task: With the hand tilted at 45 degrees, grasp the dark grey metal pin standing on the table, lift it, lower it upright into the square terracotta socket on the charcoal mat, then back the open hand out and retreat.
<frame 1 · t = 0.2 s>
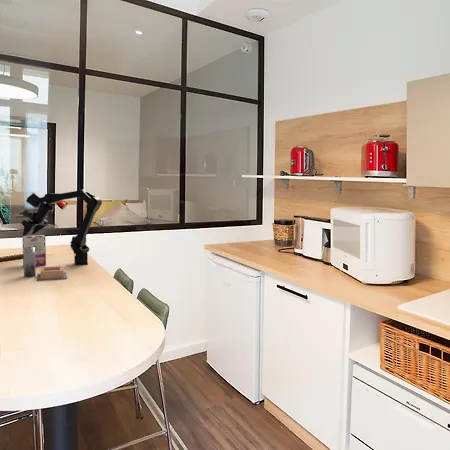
hand: (28, 235, 225), 15 cm above the table, tool tilted 35°, fingers open, 9 cm apart
metal pin: (29, 275, 193), on the table
candy bar box: (34, 265, 215), on the table
terracotta socket: (52, 276, 193), on the table
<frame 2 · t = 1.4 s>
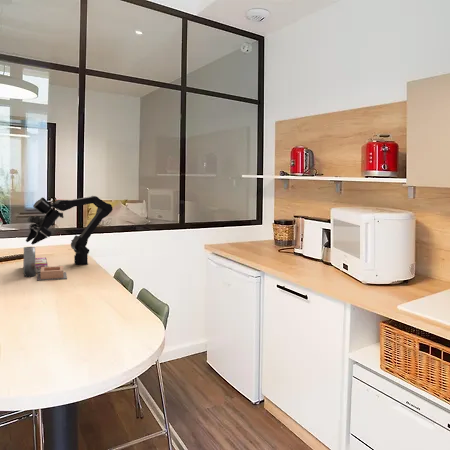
hand: (29, 242, 204), 14 cm above the table, tool tilted 40°, fingers open, 9 cm apart
candy bar box: (34, 261, 213), point 3 cm above the table
everything else where it was.
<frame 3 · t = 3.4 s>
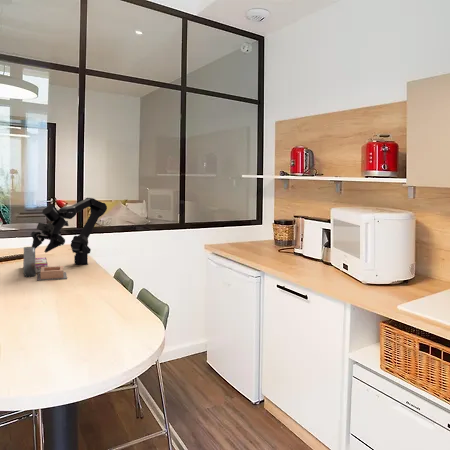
hand: (38, 251, 196), 12 cm above the table, tool tilted 45°, fingers open, 9 cm apart
nothing on the table moved.
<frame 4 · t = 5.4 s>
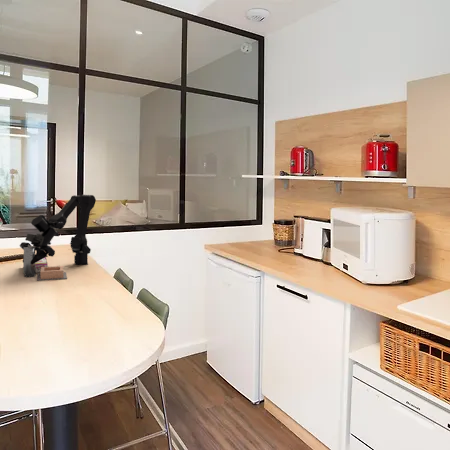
hand: (27, 263, 191), 7 cm above the table, tool tilted 45°, fingers closed on metal pin, 5 cm apart
metal pin: (29, 275, 193), on the table, touching gripper
everything else where it was.
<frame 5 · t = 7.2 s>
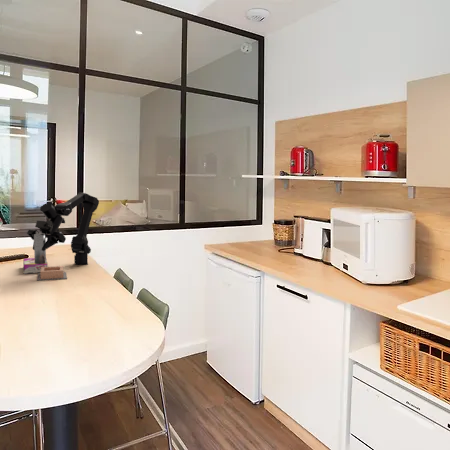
hand: (38, 249, 190), 13 cm above the table, tool tilted 45°, fingers closed on metal pin, 5 cm apart
metal pin: (40, 262, 192), point 7 cm above the table, touching gripper
everything else where it was.
when the fingers open (8 cm above the table, at t = 9.3 s): metal pin stays where it is, resting on terracotta socket.
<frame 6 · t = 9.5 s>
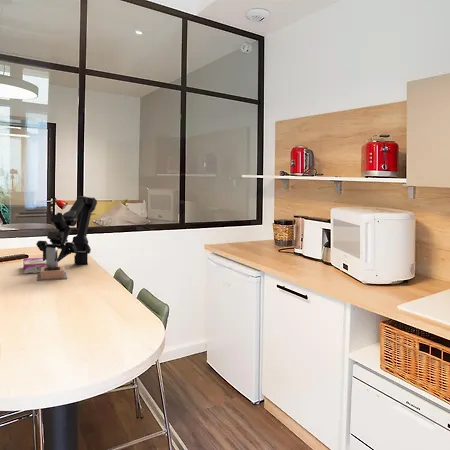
hand: (50, 261, 191), 8 cm above the table, tool tilted 45°, fingers open, 7 cm apart
metal pin: (52, 275, 193), resting on terracotta socket
everything else where it was.
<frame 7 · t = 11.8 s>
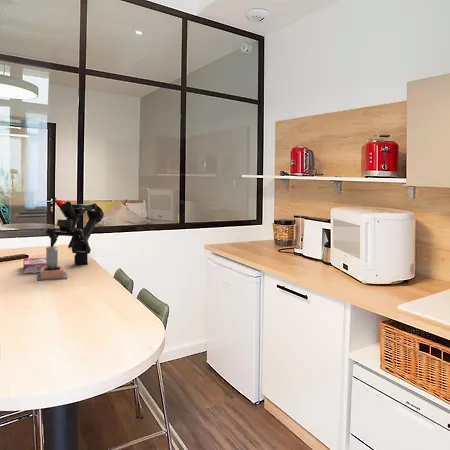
hand: (59, 247, 199), 13 cm above the table, tool tilted 45°, fingers open, 9 cm apart
nothing on the table moved.
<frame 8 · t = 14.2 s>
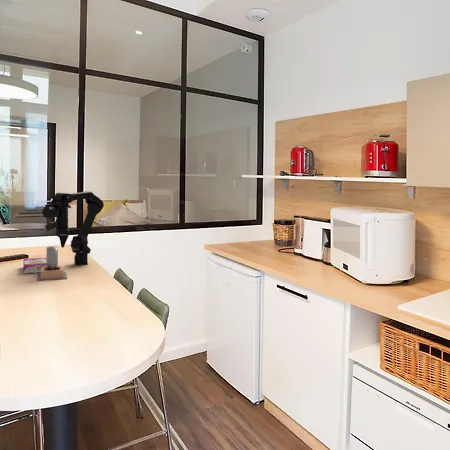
hand: (62, 245, 210), 12 cm above the table, tool pointing down, fingers open, 9 cm apart
nothing on the table moved.
at the end: metal pin 0.1 cm off-centre on the terracotta socket, point 0.4 cm above the terracotta socket's base; metal pin tilted 1°; the gripper is holding nothing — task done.
